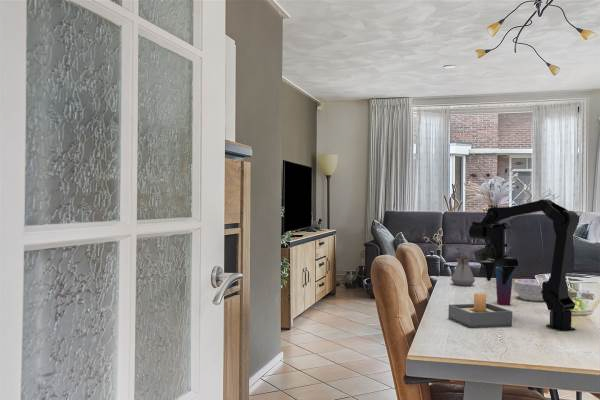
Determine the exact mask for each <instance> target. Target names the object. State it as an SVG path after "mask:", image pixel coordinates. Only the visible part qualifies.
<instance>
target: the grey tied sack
mask: <svg viewBox="0 0 600 400" xmlns="http://www.w3.org/2000/svg"><path fill="white" fill-rule="evenodd" d="M455 260H456V263H457V264H456V267H455V269H454V272H453V274H452V276H451V278H450V280H451V282H452V283H453V284H454V285H455V286H458V287H470V286H472V285H473V284H474V283H475V277H474V274H473V272H472V270H471V267H470V264H469V263H470V261H471V260H470V259H465V258H463V257H462V258H457V259H456V258H455Z"/></svg>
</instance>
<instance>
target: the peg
mask: <svg viewBox="0 0 600 400" xmlns="http://www.w3.org/2000/svg"><path fill="white" fill-rule="evenodd" d="M473 304H474V312H486V304H487V294H486V293H479V292H476V293H474V294H473Z"/></svg>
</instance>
